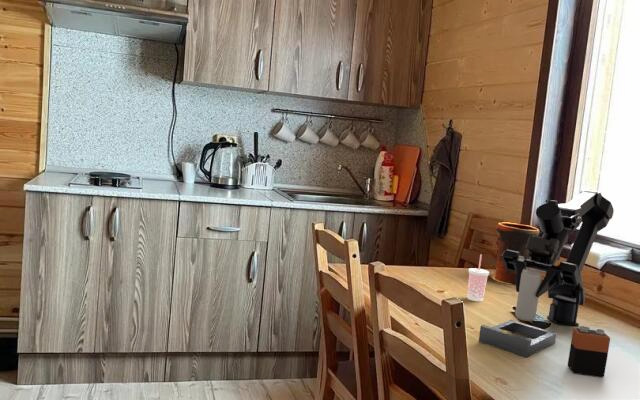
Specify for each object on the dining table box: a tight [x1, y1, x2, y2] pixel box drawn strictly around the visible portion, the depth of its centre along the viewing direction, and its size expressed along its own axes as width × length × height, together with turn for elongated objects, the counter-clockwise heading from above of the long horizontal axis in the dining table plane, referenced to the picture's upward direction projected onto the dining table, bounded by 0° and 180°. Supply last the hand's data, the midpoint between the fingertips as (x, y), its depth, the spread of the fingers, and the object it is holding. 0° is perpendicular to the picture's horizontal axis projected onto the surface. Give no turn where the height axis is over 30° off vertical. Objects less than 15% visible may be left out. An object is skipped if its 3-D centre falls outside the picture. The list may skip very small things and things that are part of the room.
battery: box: [567, 325, 611, 378], centre depth 137 cm, size 4×7×10 cm, turn 83°
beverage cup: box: [467, 254, 490, 302], centre depth 190 cm, size 6×6×14 cm
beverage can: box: [514, 268, 543, 322], centre depth 154 cm, size 5×5×12 cm
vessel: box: [489, 221, 540, 285], centre depth 221 cm, size 14×14×20 cm
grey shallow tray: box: [478, 319, 557, 358], centre depth 153 cm, size 18×12×4 cm
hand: (526, 293), depth 153 cm, fingers closed on beverage can, 5 cm apart
